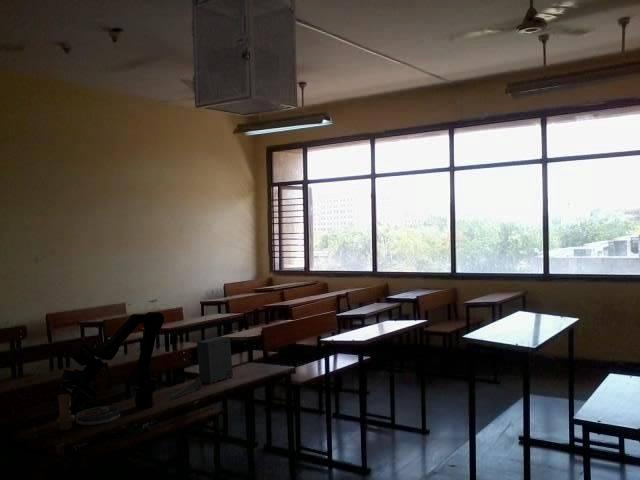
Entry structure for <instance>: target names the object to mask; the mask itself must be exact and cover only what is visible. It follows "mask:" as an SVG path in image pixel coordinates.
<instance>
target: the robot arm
mask: <svg viewBox="0 0 640 480" xmlns="http://www.w3.org/2000/svg"><path fill="white" fill-rule="evenodd" d="M164 322H165V316H164V314H163V313H161V312H158V311H149V312H146V313H145V314H139V313H132V314H130V316H129V318H127V320H126V321H125V322H124V323H123V324H122V325H121V326H120V327H119V329H117V330H116V332H114V334H113V335H112V336H111V337H110V338H108V339H107V340H104V341H103V342H101V343H100V344H99V345H98V346H97V347H96V348H94V349H91V348H89V347H88V346H87V345H86V343H81V344H80V345H79V346H77V347H75V348H74V349H73V350H72V351H71V352H70V355H69V357H70V358H71V359H73V361H74V362H76V363H77V364H78V365H79V366H81V367H84V368H83V369H82V370H80V369H76V368H75V369H74V370H69V369H64V370H63V372H62V376H61V378H62V379H64V380H62V381H61V382H60V383H59V387H60V390H61V393H60V395H61V394H70V400H71V399H72V398H73V397H74V396H75V398H73V401H71V406H70V408H69V410H70V411H71V412H72V411H73V410H75V409H77V408H78V407H80V406H82V405H83V404H85V403H86V402H88V401H91V400H92V399H95V398H96V396H97V395H98V390H97V389H95V388H94V387H93V386H92V383H96V382H97V379H96V378H97V377H98V375H99V374H100V373H101V372H102V370H106V371H108V370H109V363H108V362H106V361H111V360H113V359H114V358H115V357H116V356H117V354H118V353H119V350H120V346H121V345H122V343H124V341H125V340H126V339H127V338H128V337H129V336H131V334H132V333H133V332H134V331H135V330H136V329H137V327H138V326H139V325H141V324H142V325H143V331H144V334H143V335H144V336H143V339H142V344H141V348H140V353H139V356H138V359H137V361H138V362H137V365H136V367H135V368H134V369H131V370H130V371H129V378H127V379H128V380H129V381H128V382H129V386H130V387H131V388H132V390H133V391H134V392H136V393H135V394H136V395H135V396H134V401H135V402H134V403H135V409H149V408H153V407H154V405H155V403H156V402H154V392H156V389H157V386H156V385H155V384H154V383H153V382H152V381H151V376H152V375H151V371H150V366H151V361H152V356H153V353H154V348H155V343H156V339H157V334H158V333H159V331H160V330H161V329H162V327H163V324H164ZM95 357H96V358H95ZM104 361H105V362H104ZM75 394H76V395H75ZM56 408H59V401H58V402H57V405H56Z"/></svg>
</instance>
